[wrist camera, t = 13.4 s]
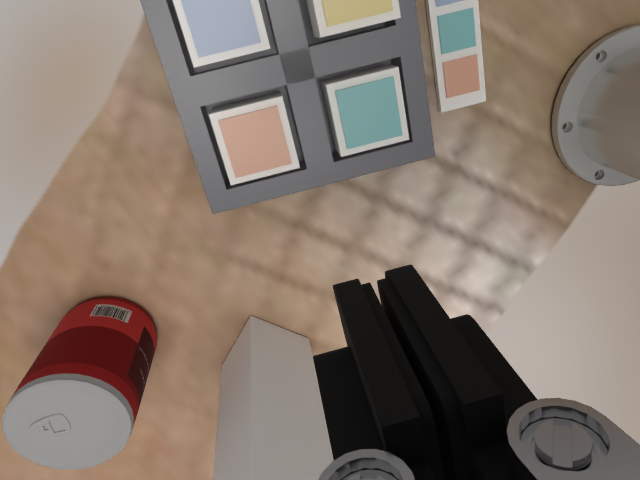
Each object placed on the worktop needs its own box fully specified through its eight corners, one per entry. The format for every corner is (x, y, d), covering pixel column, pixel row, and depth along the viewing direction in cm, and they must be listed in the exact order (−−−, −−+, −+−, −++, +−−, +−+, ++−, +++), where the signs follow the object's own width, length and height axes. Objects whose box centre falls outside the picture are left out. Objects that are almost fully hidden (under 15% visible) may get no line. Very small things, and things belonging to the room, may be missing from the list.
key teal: (386, 63, 36) (399, 67, 32) (396, 131, 38) (410, 140, 34) (319, 80, 35) (326, 85, 32) (333, 147, 37) (342, 157, 34)
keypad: (387, -101, 32) (400, -114, 30) (421, 147, 39) (435, 156, 36) (134, -41, 32) (124, -48, 29) (215, 201, 39) (212, 214, 36)
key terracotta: (279, 90, 35) (282, 96, 32) (296, 157, 37) (300, 168, 34) (211, 107, 35) (208, 115, 32) (232, 173, 37) (230, 186, 34)
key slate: (248, -33, 32) (248, -40, 29) (268, 47, 34) (270, 48, 31) (173, -15, 32) (165, -20, 29) (198, 64, 34) (193, 67, 31)
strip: (469, -60, 34) (474, -62, 33) (482, 100, 38) (487, 101, 38) (419, -47, 34) (423, -49, 33) (438, 111, 38) (442, 113, 38)
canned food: (41, 317, 40) (-27, 411, 30) (128, 278, 40) (89, 360, 30) (94, 383, 44) (48, 488, 34) (175, 347, 43) (153, 442, 33)
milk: (309, 337, 45) (363, 584, 25) (278, 387, 47) (305, 656, 26) (249, 313, 43) (254, 560, 23) (219, 366, 45) (200, 639, 25)
